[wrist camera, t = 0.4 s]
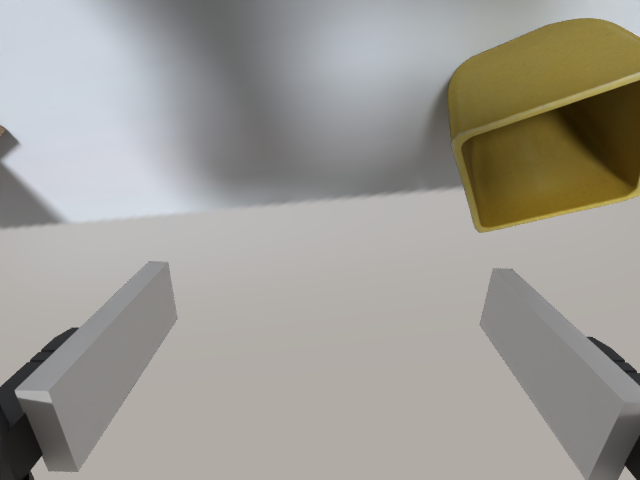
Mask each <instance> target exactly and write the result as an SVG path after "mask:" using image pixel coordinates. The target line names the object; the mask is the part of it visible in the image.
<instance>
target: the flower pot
mask: <svg viewBox="0 0 640 480" xmlns="http://www.w3.org/2000/svg"><path fill="white" fill-rule="evenodd" d="M448 112H449V125H450V137H451V147H452V151H453V154H454V157H455V160H456V163H457V166H458V170H459V173H460V176H461V180H462V183H463V187H464V190H465V194H466V197H467V201H468V204H469V208H470V212H471V216H472V220H473V224H474V227H475V229H476V230H477V231H478V232H479V233H481V232H488V231H493V230H499V229H503V228H507V227H512V226H516V225H520V224H525V223H529V222H533V221H537V220H542V219H546V218H551V217H555V216H559V215H564V214H568V213H573V212H577V211H582V210H587V209H592V208H596V207H601V206H605V205H609V204H614V203H618V202H622V201H626V200H628V199H632V198H635V197H638V196H640V37H638V36H636V35H635V34H633V33H631V32H630V31H628V30H626V29H624V28H622V27H621V26H619V25H616V24H614V23H612V22H609V21H605V20H601V19H593V18H581V19H572V20H566V21H562V22H557V23H553V24H549V25H546V26H543V27H542V28H539V29H536V30H534V31H532V32H530V33H527V34H525V35H522V36H520V37H518V38H516V39H513V40H511V41H509V42H506V43H504V44H502V45H499V46H497V47H494V48H492V49H489V50H487V51H485V52H482V53H480V54H478V55H475V56H473V57H471V58H469V59H468V60H466V61H465V62H464V63H463V64H461V65H460V66H459V67H458V68H457V69H456V71H455V72H454V74H453V76H452V78H451V80H450V83H449V87H448Z"/></svg>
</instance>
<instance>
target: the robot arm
mask: <svg viewBox="0 0 640 480" xmlns="http://www.w3.org/2000/svg"><path fill="white" fill-rule="evenodd" d="M176 320H177V313H176V307H175V301H174V295H173V289H172V283H171V277H170V271H169V265H168V262H156V261H155V262H154V261H149V262H148V263H147V264H146V265H145V266H144V267H143V268H142V269H141V270H140V271H138V272H137V274H135V275H134V276H133V277H132V278H131V279H130V280H129V281H128V282H127V283H126V284H125V285H124V286H123V287H122V288H121V289H120V290H119V291H118V292H116V293H115V294H114V296H112V297H111V298H110V299H109V300H108V301H107V302H106V303H105V304H104V305H103V306H102V307H101V308H100V309H99V310H98V311H97V312H96V313H95V314H94V315H93V316H91V317H90V318H89V319H88V320H87V321H86V322H85V323H84V324H83V325H82V326H81V327H80V328H71V329H69V330H67V331H66V332H64V333H62V334H60V335H59V336H57V337H55V338H54V339H53V340H52V341H51V342H49V343H48V344H47V345H46V346H45V347H44V348H43V349H42V350H41V352H38V353H37V354H36V355H35V356H34V357H33V358H32V359H31V360H30V362H28V363H26V364H25V365H24V366H23V367H22V368H21V369H20V370H18V371H17V372H16V373H15V374H14V375H13V376H12V377H11V378H10V379H9V380H7V381H6V382H5V383H4V384H3V385H2V386H1V387H0V480H34V477H33V475H32V473H31V471H30V470H31V469H32V467H33V466H34V465H35V464H36V462H37V461H38V460H39V459H40V457H41V456H42V457H43V459H44V462H45V464H46V466H47V469H48V471H66V472H68V471H69V472H78V471H79V470H80V468H81V467H82V465H83V464H84V462H85V461H86V459H87V457H88V456H89V454H90V453H91V451H92V450H93V448H94V447H95V445H96V444H97V442H98V440H99V439H100V437H101V436H102V434H103V433H104V431H105V430H106V428H107V427H108V425H109V424H110V422H111V420H112V419H113V417H114V416H115V414H116V413H117V411H118V410H119V408H120V407H121V405H122V403H123V402H124V400H125V399H126V397H127V396H128V394H129V393H130V391H131V390H132V388H133V387H134V385H135V384H136V382H137V380H138V379H139V377H140V376H141V374H142V373H143V371H144V370H145V368H146V367H147V365H148V363H149V362H150V360H151V359H152V357H153V355H154V354H155V352H156V351H157V349H158V348H159V347H160V345H161V343H162V342H163V340H164V339H165V337H166V336H167V334H168V333H169V331H170V329H171V328H172V326H173V325H174V323H175V322H176ZM480 326H481V328H482V329H483V331H484V332H485V334H486V335H487V336H488V338H489V339H490V341H491V342H492V344H493V345H494V347H495V348H496V350H497V351H498V353H499V354H500V356H501V357H502V358H503V360H504V361H505V363H506V364H507V366H508V367H509V369H510V370H511V372H512V373H513V375H514V376H515V377H516V379H517V380H518V382H519V383H520V385H521V386H522V388H523V389H524V391H525V392H526V394H527V395H528V396H529V398H530V399H531V401H532V402H533V404H534V405H535V407H536V408H537V409H538V411H539V412H540V414H541V415H542V417H543V418H544V420H545V421H546V423H547V424H548V426H549V427H550V429H551V430H552V432H553V433H554V434H555V436H556V437H557V439H558V440H559V442H560V443H561V445H562V446H563V448H564V449H565V451H566V452H567V453H568V455H569V456H570V458H571V459H572V461H573V462H574V464H575V465H576V467H577V468H578V469H579V471H580V472H581V474H582V475H583V477H584V478H585V480H618V478H619V476H620V474H621V473H622V471H623V469H624V467H625V466H626V467H627V468H628V470H629V471H630V472H631V473H632V475H633V476H634V477H635V478H636V480H640V373H637V371H636V370H635V369H634V368H633V367H632V366H631V365H630V364H629V363H625V360H624V359H623V358H622V357H621V356H619V355H618V354H617V353H616V352H615V351H614V350H613V349H611V348H610V347H608V346H607V345H605V344H603V343H602V342H600V341H598V340H596V339H595V338H593V337H586V336H585V335H584V334H583V333H582V332H580V331H579V330H578V329H577V328H576V327H575V326H574V325H573V324H572V323H571V322H569V321H568V320H567V319H566V318H565V317H564V316H563V315H562V314H561V313H560V312H559V311H557V310H556V309H555V308H554V307H553V306H552V305H551V304H550V303H549V302H547V300H545V299H544V298H543V297H542V296H541V295H540V294H539V293H538V292H537V291H536V290H535V289H533V288H532V287H531V286H530V285H529V284H528V283H527V282H526V281H524V279H523V278H521V277H520V276H519V275H518V274H517V273H516V272H515V271H514V270H513V269H503V268H502V269H501V268H493V270H492V274H491V278H490V283H489V287H488V291H487V295H486V300H485V304H484V308H483V312H482V316H481V321H480Z"/></svg>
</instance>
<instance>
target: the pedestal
mask: <svg viewBox="0 0 640 480" xmlns="http://www.w3.org/2000/svg"><path fill="white" fill-rule="evenodd" d="M5 131H6V129H5V128H3V127H2V126H0V137H1V135H2V134H3V133H4V132H5Z"/></svg>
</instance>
